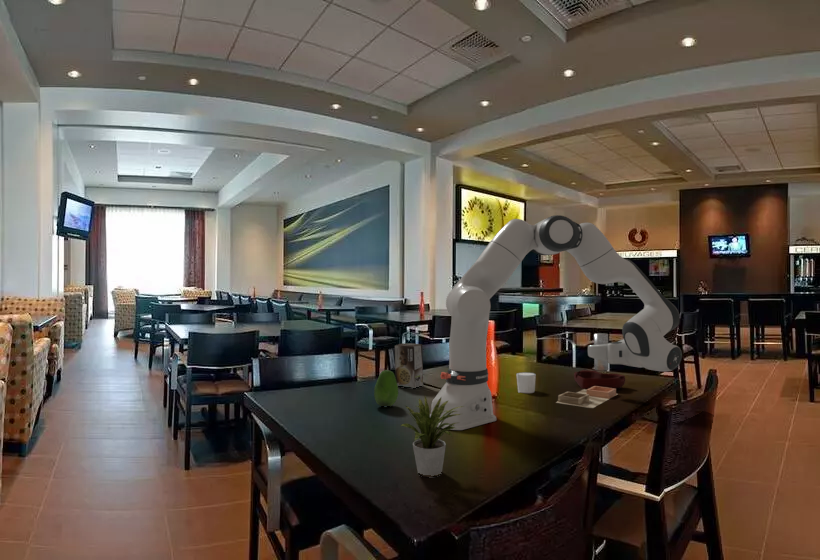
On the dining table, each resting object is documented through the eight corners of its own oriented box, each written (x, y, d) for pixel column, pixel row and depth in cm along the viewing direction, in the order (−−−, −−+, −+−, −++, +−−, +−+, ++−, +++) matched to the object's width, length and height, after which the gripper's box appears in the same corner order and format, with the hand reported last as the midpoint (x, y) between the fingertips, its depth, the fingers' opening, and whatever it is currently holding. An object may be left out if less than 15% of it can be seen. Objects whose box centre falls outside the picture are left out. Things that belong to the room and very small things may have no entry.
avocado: (398, 409, 159) (397, 371, 159) (373, 410, 159) (372, 372, 159) (398, 403, 167) (398, 367, 167) (375, 403, 167) (374, 367, 167)
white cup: (538, 395, 176) (537, 375, 176) (518, 395, 176) (518, 375, 176) (533, 391, 183) (533, 371, 183) (514, 391, 183) (514, 372, 183)
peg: (606, 370, 169) (606, 335, 169) (593, 369, 172) (592, 334, 172) (610, 368, 173) (609, 333, 173) (596, 367, 175) (595, 333, 175)
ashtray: (561, 388, 189) (561, 374, 189) (584, 381, 199) (584, 369, 199) (607, 395, 175) (607, 381, 175) (629, 388, 186) (628, 375, 186)
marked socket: (608, 398, 167) (608, 392, 167) (586, 395, 172) (586, 389, 172) (616, 394, 173) (616, 388, 173) (594, 391, 177) (594, 385, 177)
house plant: (451, 493, 97) (450, 408, 97) (386, 483, 102) (385, 402, 102) (470, 467, 110) (470, 392, 110) (411, 459, 115) (411, 388, 115)
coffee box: (423, 386, 194) (423, 344, 194) (415, 389, 189) (414, 346, 189) (403, 383, 199) (403, 342, 199) (394, 386, 193) (394, 344, 193)
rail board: (592, 410, 155) (592, 401, 155) (555, 404, 163) (555, 396, 163) (618, 396, 174) (618, 388, 173) (583, 391, 181) (583, 383, 181)
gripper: (654, 340, 164) (621, 336, 177) (607, 344, 156) (575, 339, 169) (655, 359, 164) (621, 354, 177) (607, 364, 156) (576, 358, 169)
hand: (599, 347), depth 173 cm, fingers closed on peg, 4 cm apart
